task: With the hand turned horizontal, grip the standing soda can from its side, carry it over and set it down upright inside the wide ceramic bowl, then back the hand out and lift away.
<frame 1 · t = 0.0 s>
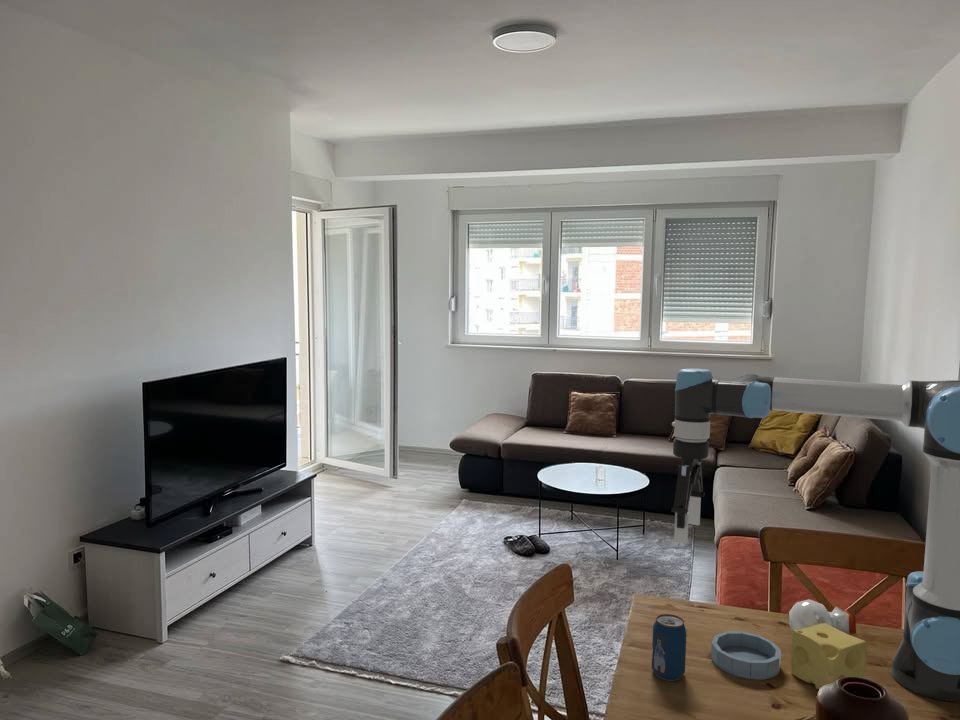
hand: (687, 532, 159), 28 cm above the table, tool pointing down, fingers open, 13 cm apart
soda can: (667, 674, 152), on the table
bowl: (745, 662, 157), on the table
potion bottle: (819, 639, 169), on the table
cheese: (825, 681, 151), on the table
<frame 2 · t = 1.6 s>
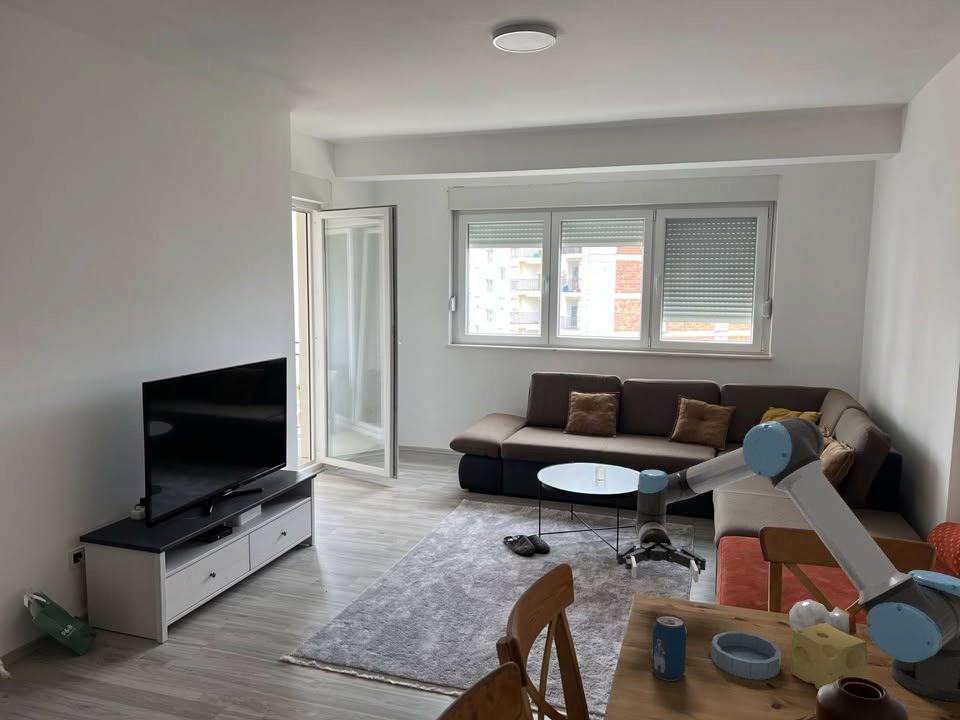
hand: (665, 574, 160), 18 cm above the table, tool horizontal, fingers open, 13 cm apart
nothing on the table moved.
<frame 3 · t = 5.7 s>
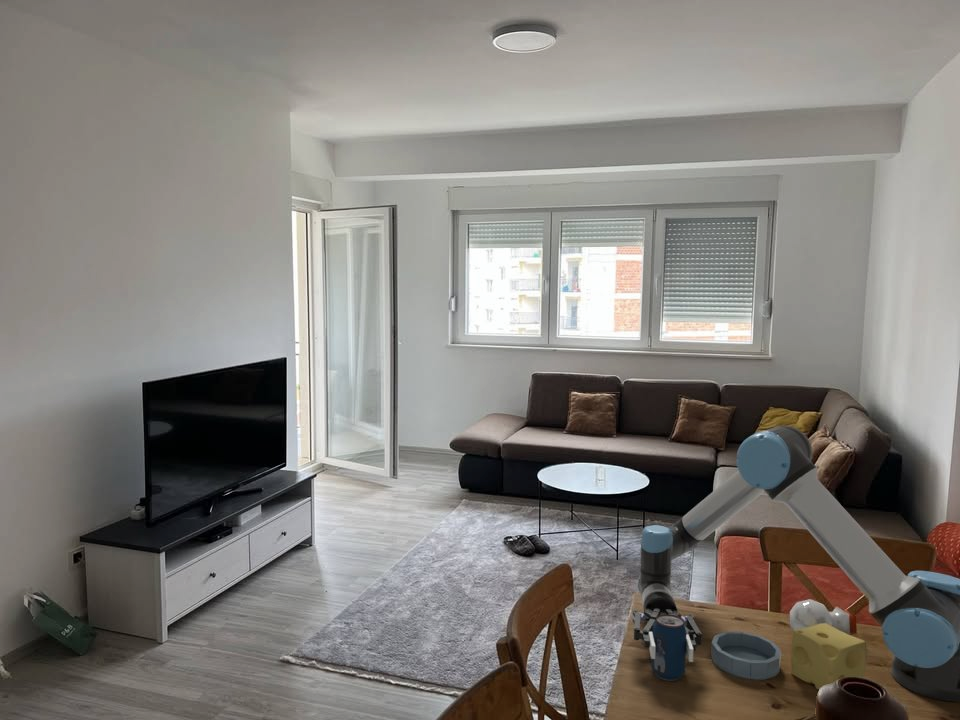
hand: (672, 653, 147), 7 cm above the table, tool horizontal, fingers closed on soda can, 7 cm apart
soda can: (667, 674, 152), on the table, touching gripper
everything else where it was.
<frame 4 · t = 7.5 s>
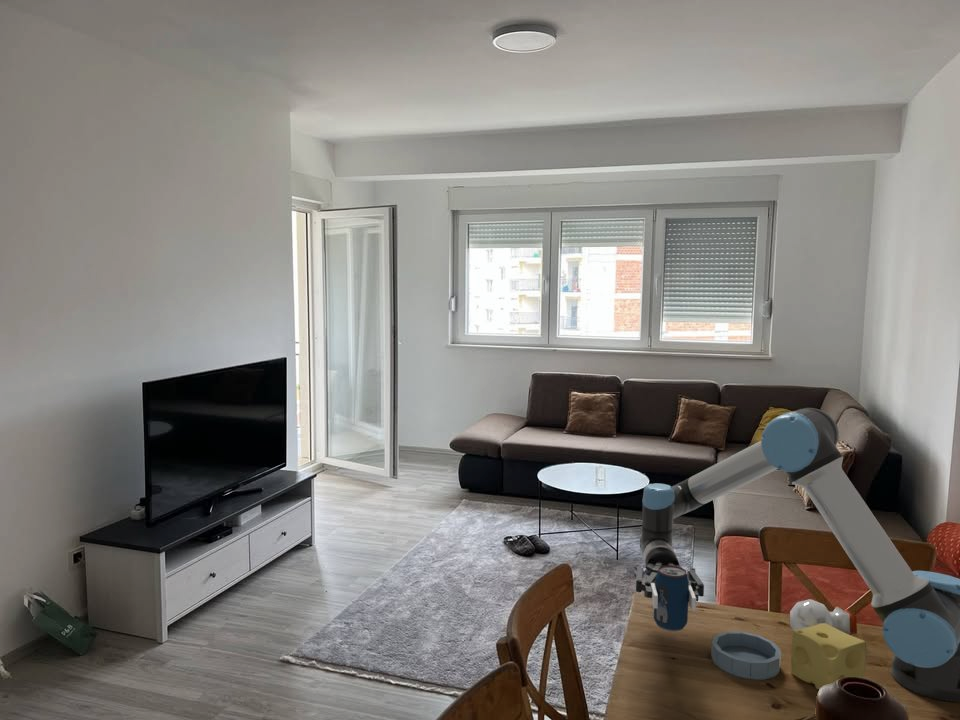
hand: (674, 603, 146), 18 cm above the table, tool horizontal, fingers closed on soda can, 7 cm apart
soda can: (670, 626, 151), point 11 cm above the table, touching gripper
everything else where it was.
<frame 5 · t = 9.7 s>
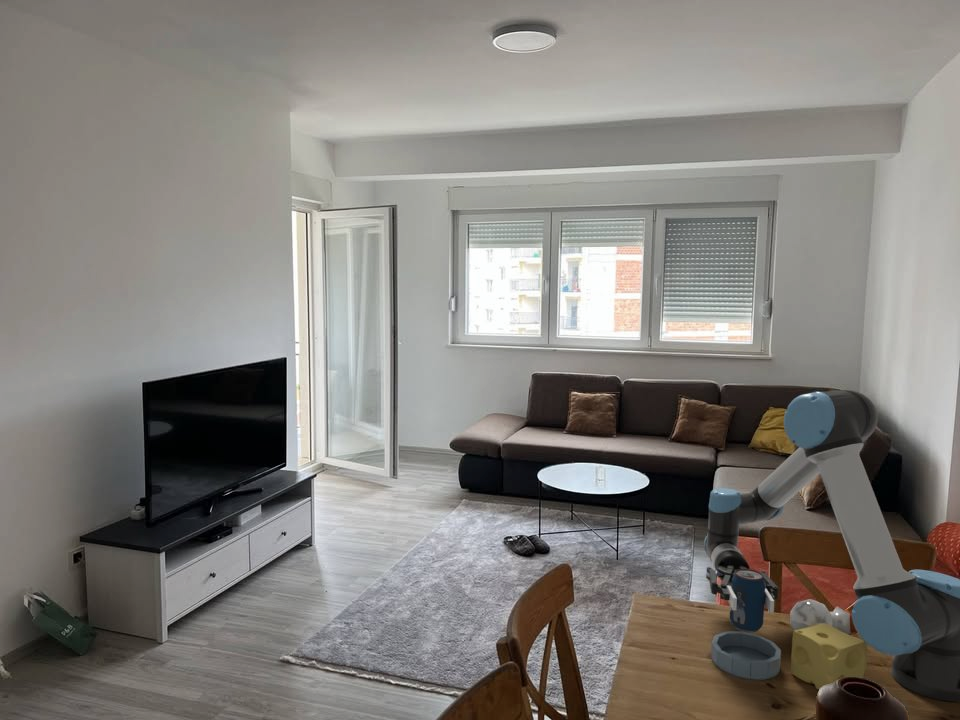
hand: (753, 605, 151), 15 cm above the table, tool horizontal, fingers closed on soda can, 7 cm apart
soda can: (745, 627, 157), point 8 cm above the table, touching gripper
everything else where it was.
when the fingers open (9 cm above the table, at t = 11.0 s): soda can drops 1 cm, resting on bowl.
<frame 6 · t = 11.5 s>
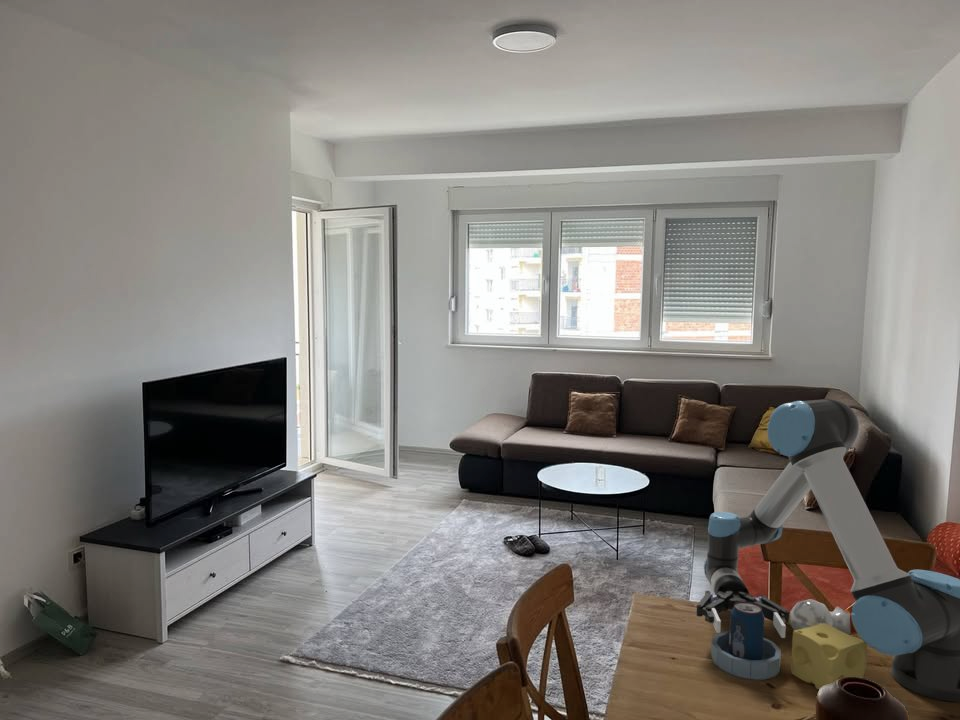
hand: (751, 629, 153), 9 cm above the table, tool horizontal, fingers open, 13 cm apart
soda can: (745, 659, 157), point 1 cm above the table, touching bowl
everything else where it was.
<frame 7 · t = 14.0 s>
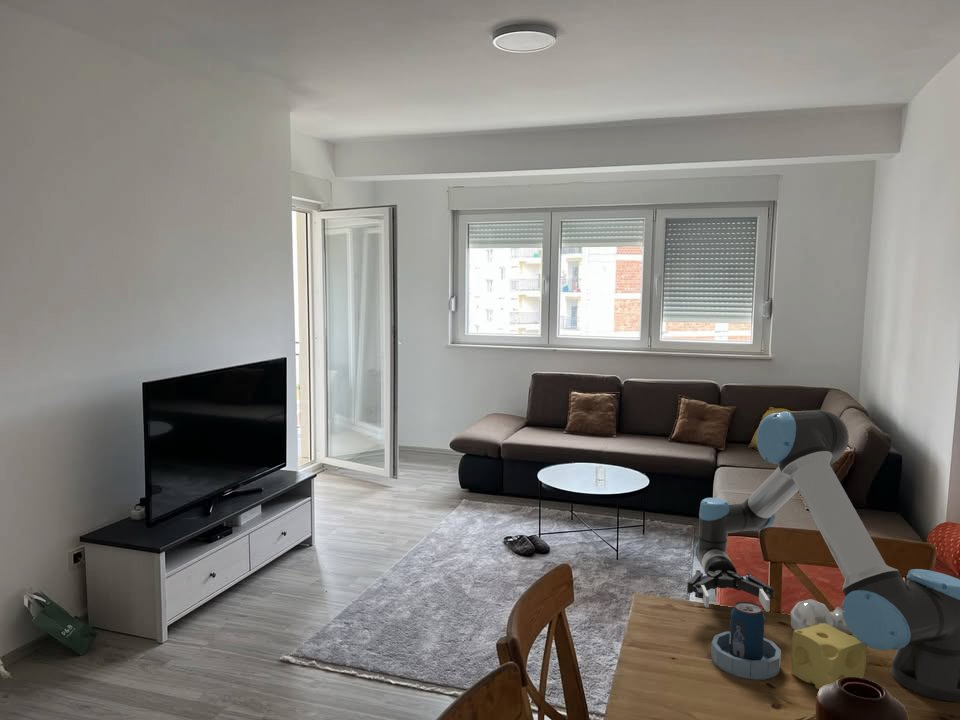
hand: (737, 603, 166), 9 cm above the table, tool horizontal, fingers open, 13 cm apart
nothing on the table moved.
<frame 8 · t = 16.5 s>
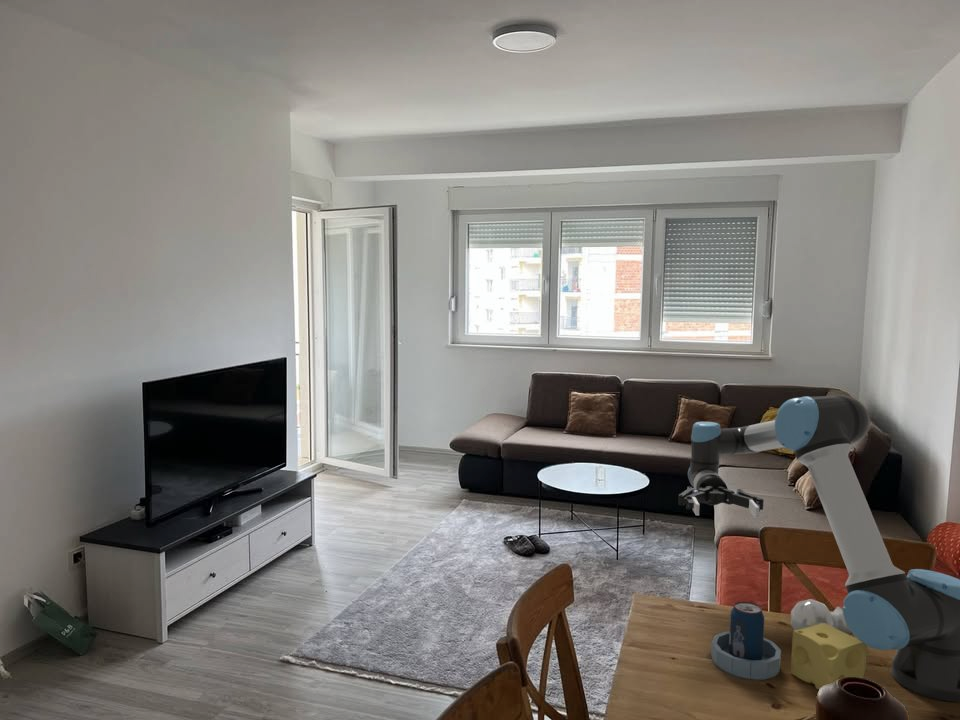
hand: (727, 511, 168), 30 cm above the table, tool horizontal, fingers open, 13 cm apart
nothing on the table moved.
at the end: soda can 0.1 cm from the bowl (horizontally); soda can tilted 0°; the gripper is holding nothing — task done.
